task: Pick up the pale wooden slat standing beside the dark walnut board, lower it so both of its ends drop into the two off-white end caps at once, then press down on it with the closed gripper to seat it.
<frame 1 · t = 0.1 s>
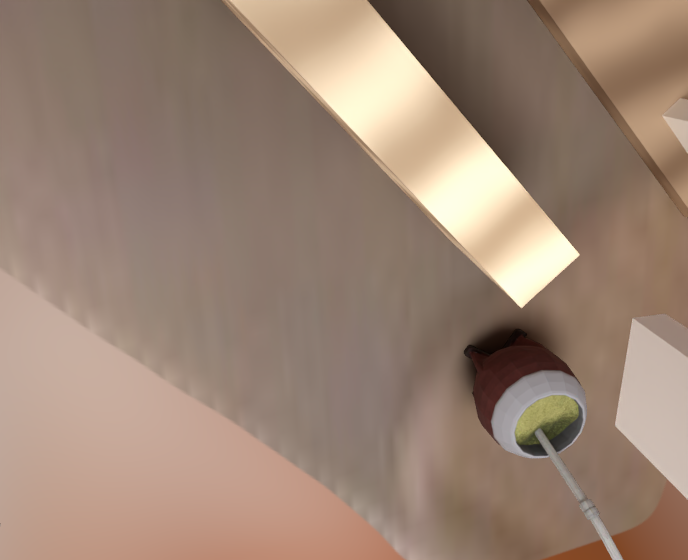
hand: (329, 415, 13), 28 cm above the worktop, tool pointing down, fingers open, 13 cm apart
mate gourd: (499, 366, 48), on the worktop
slat: (351, 87, 38), on the worktop
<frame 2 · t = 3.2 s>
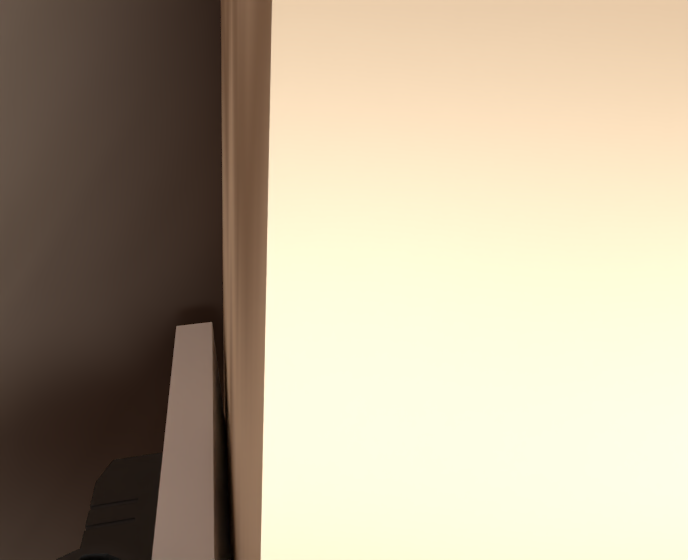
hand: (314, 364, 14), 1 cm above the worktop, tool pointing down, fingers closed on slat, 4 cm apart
slat: (305, 338, 16), on the worktop, touching gripper
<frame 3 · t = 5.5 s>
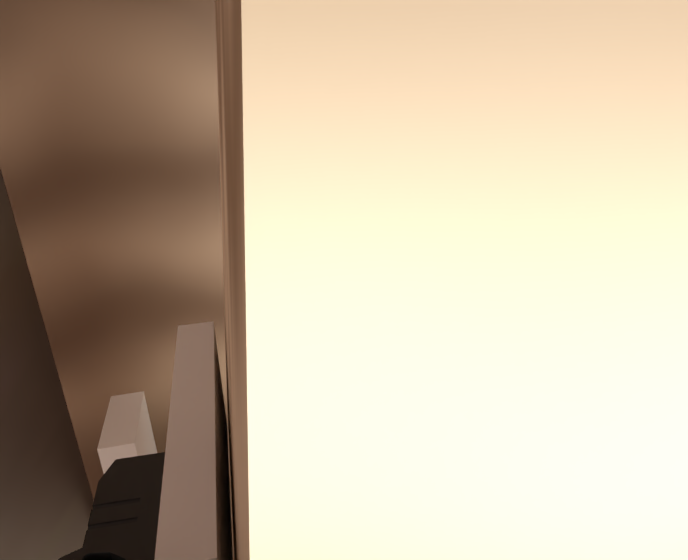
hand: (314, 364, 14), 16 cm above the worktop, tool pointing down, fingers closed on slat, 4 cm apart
walnut board: (188, 179, 28), on the worktop
end caps: (185, 200, 25), on the walnut board, point 4 cm above the worktop
slat: (307, 338, 16), point 15 cm above the worktop, touching gripper
when the fingers open (4 cm above the worktop, at t = 7.9 s): slat drops 1 cm, resting on walnut board.
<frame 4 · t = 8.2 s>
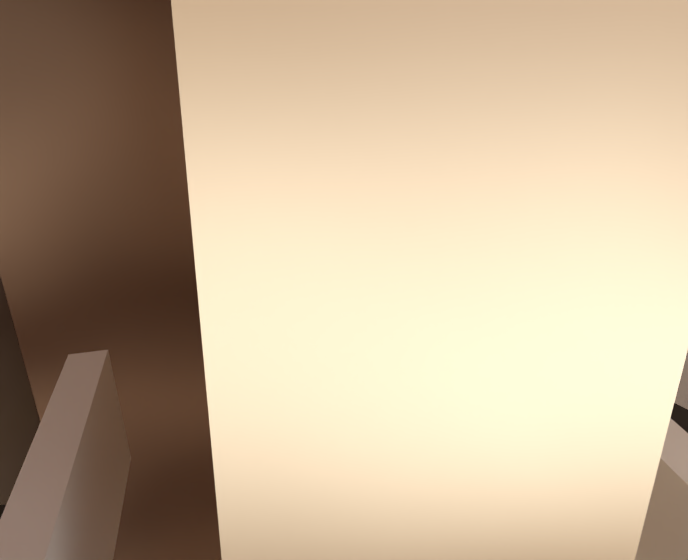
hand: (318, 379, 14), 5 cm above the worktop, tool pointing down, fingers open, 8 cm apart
walnut board: (292, 291, 18), on the worktop
slat: (298, 317, 17), point 1 cm above the worktop, touching walnut board
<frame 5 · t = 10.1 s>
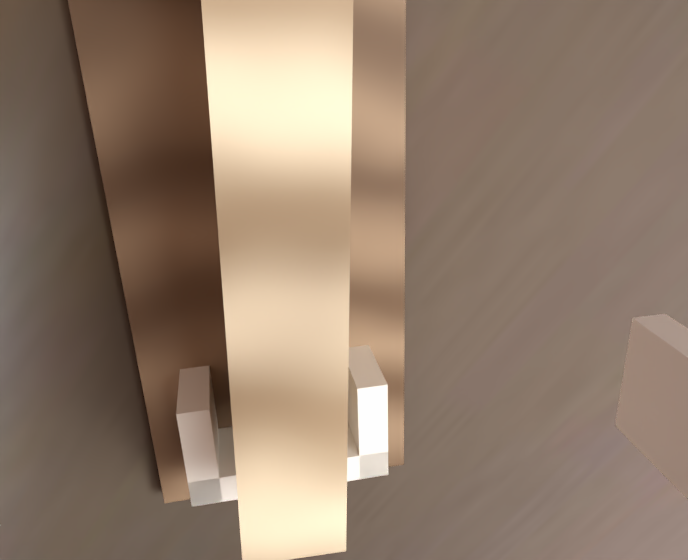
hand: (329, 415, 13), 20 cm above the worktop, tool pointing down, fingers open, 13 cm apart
walnut board: (258, 173, 31), on the worktop
end caps: (264, 192, 28), on the walnut board, point 4 cm above the worktop
slat: (260, 183, 29), point 1 cm above the worktop, touching walnut board
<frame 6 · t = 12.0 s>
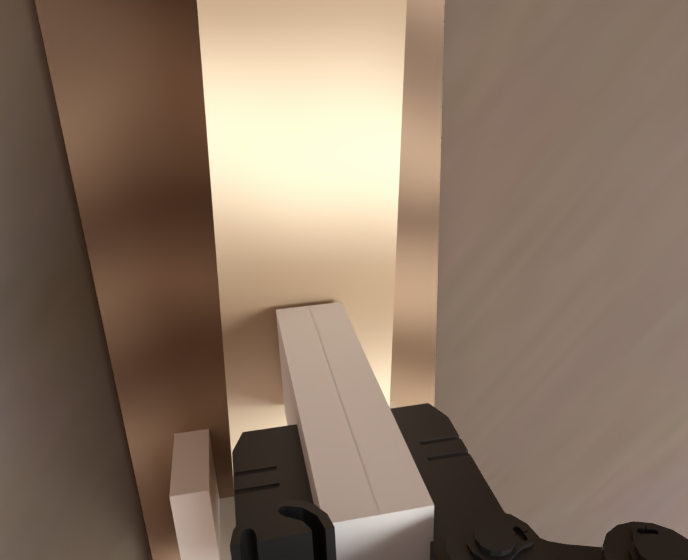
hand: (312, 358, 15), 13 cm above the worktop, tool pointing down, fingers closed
walnut board: (266, 206, 26), on the worktop
end caps: (274, 233, 23), on the walnut board, point 4 cm above the worktop
slat: (269, 219, 25), point 1 cm above the worktop, touching gripper, walnut board
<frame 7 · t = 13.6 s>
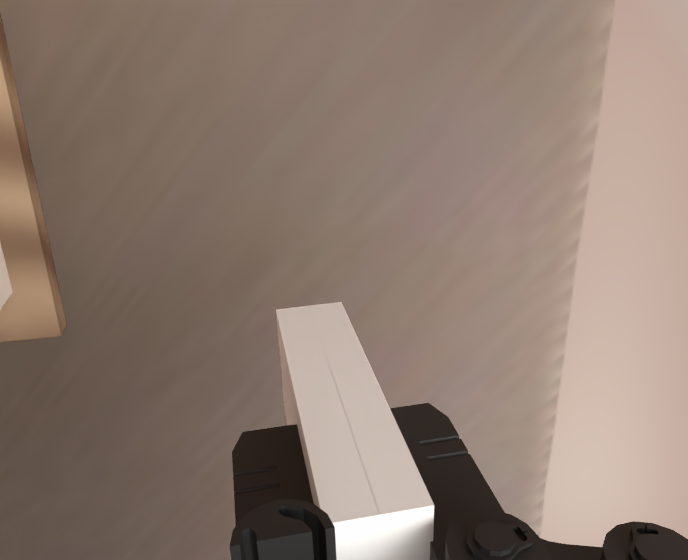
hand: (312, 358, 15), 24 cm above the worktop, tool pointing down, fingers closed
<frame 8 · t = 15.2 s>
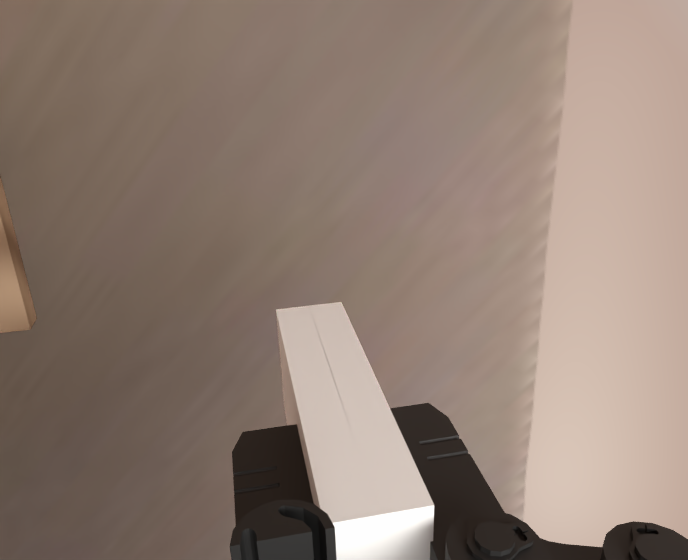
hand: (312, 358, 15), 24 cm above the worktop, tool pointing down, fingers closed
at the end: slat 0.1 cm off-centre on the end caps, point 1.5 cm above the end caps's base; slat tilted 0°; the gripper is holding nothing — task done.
